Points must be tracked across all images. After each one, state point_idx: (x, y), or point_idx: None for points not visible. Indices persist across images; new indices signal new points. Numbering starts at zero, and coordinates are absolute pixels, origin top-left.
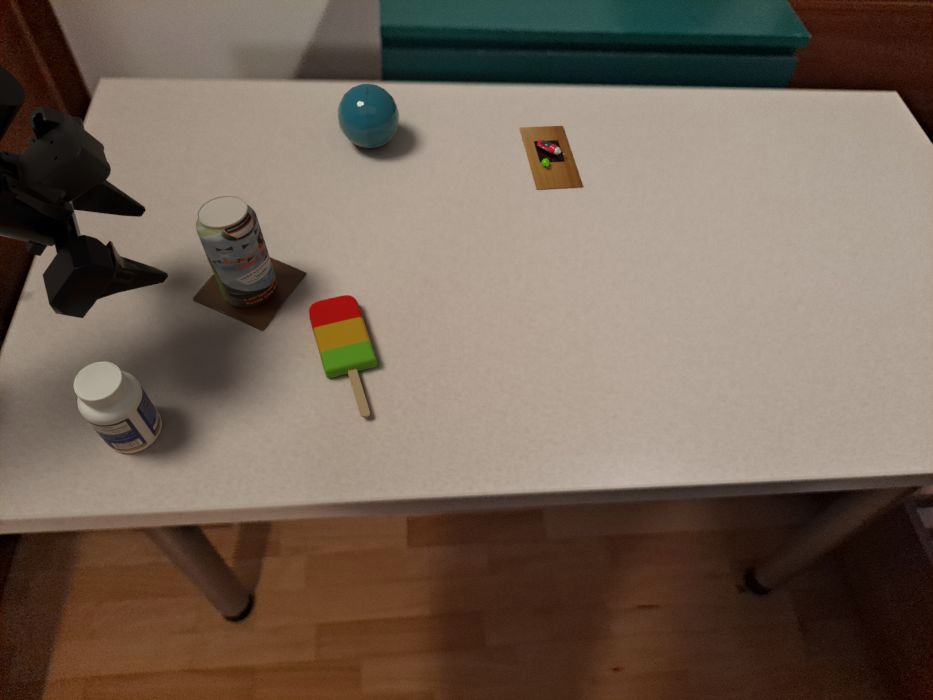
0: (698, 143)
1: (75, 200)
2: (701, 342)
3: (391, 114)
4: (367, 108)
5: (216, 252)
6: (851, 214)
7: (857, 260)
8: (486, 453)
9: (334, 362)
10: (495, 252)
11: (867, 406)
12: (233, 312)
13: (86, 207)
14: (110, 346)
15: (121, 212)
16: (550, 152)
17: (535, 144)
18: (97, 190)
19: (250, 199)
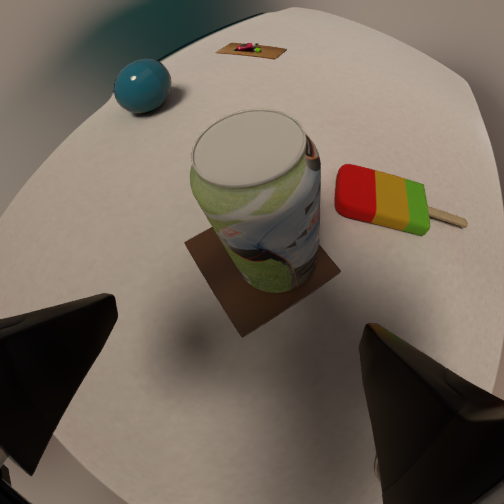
0: (282, 26)
1: (25, 432)
2: (414, 75)
3: (163, 65)
4: (148, 67)
5: (303, 218)
6: (350, 26)
7: (375, 36)
8: (483, 177)
9: (424, 215)
10: (321, 87)
11: (445, 71)
12: (297, 294)
13: (50, 418)
14: (262, 464)
15: (93, 349)
16: (250, 47)
17: (236, 50)
18: (19, 363)
19: (128, 208)
